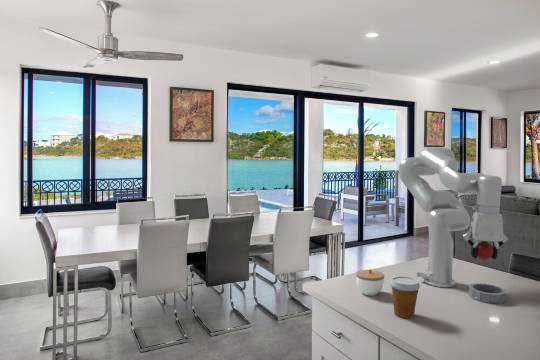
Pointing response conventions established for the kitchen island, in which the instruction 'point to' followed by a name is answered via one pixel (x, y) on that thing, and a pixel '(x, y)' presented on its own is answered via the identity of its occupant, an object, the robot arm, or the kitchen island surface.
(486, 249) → the onion
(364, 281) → the lidded jar
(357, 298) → the kitchen island surface
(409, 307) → the disposable coffee cup
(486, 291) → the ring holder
